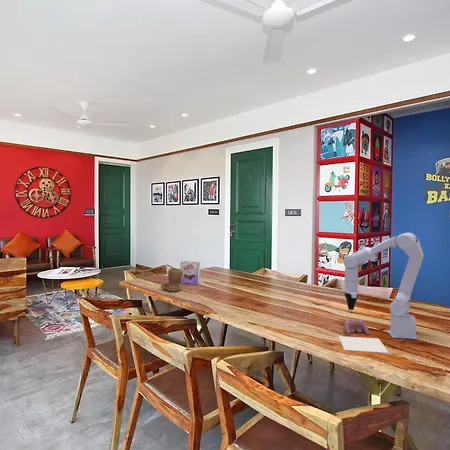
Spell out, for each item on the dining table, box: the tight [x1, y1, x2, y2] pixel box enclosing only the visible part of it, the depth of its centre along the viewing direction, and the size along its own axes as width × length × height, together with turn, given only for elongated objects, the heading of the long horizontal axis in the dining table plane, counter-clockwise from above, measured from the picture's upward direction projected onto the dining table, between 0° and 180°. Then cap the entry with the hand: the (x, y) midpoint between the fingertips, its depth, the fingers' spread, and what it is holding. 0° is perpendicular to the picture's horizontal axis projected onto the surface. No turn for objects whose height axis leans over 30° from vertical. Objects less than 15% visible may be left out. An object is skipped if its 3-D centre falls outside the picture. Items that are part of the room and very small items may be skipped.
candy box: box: [180, 260, 201, 285], centre depth 246 cm, size 14×6×16 cm, turn 73°
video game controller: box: [343, 318, 370, 336], centre depth 144 cm, size 10×5×7 cm, turn 92°
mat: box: [338, 335, 390, 354], centre depth 132 cm, size 16×14×1 cm
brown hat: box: [160, 267, 183, 292], centre depth 225 cm, size 15×12×15 cm
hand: (350, 309), depth 154 cm, fingers closed
